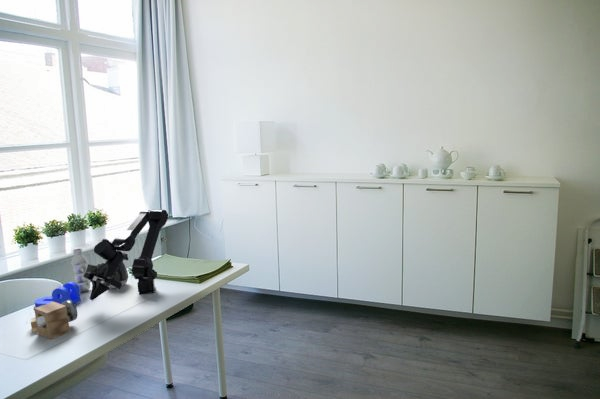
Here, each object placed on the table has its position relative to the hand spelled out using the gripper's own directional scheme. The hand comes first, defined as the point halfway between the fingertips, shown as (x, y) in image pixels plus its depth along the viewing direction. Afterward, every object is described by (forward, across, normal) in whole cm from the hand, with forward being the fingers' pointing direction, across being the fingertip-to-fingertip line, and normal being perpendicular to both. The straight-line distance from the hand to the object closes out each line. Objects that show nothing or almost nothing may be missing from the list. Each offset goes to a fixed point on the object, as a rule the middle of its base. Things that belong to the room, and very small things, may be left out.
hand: (90, 299), depth 178 cm
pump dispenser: (-13, -23, +24) cm, 35 cm away
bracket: (+6, -28, +5) cm, 29 cm away
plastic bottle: (-5, -32, +15) cm, 36 cm away
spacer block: (+17, -9, -7) cm, 20 cm away
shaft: (+13, 0, -7) cm, 15 cm away
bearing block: (+16, 0, -6) cm, 17 cm away
